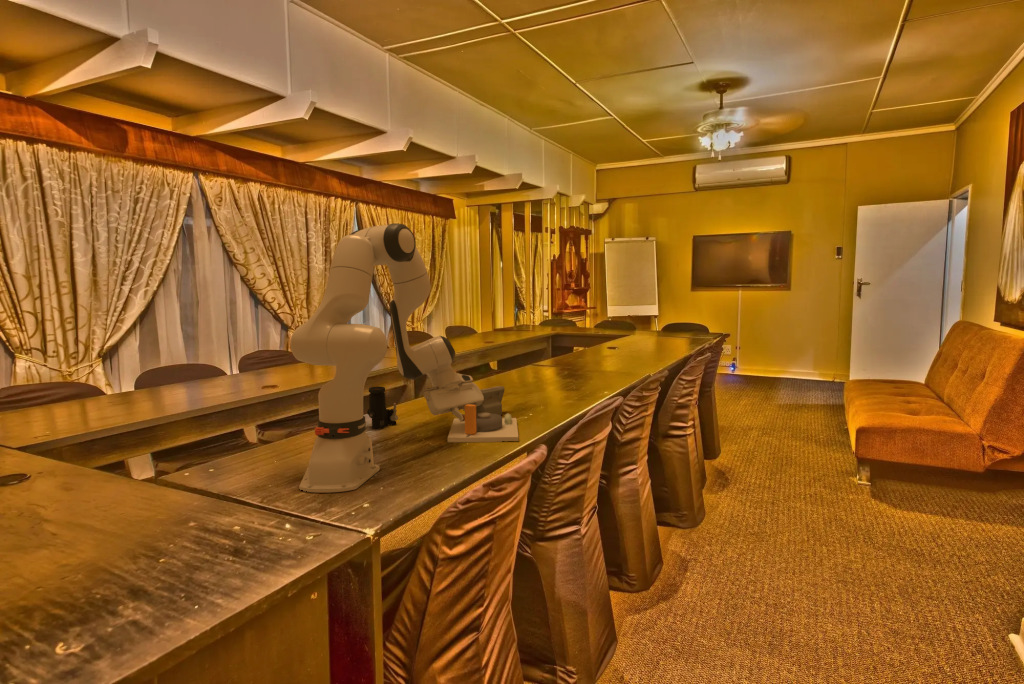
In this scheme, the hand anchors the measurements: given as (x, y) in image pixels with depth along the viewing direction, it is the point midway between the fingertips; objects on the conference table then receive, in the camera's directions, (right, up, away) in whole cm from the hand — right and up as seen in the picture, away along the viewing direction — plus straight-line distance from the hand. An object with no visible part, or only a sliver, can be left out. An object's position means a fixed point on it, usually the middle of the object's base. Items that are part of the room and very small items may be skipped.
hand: (466, 419), depth 174 cm
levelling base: (+5, -5, +7) cm, 10 cm away
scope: (-31, -5, +14) cm, 34 cm away
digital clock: (+5, -3, +29) cm, 29 cm away
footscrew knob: (+4, -3, +5) cm, 8 cm away
